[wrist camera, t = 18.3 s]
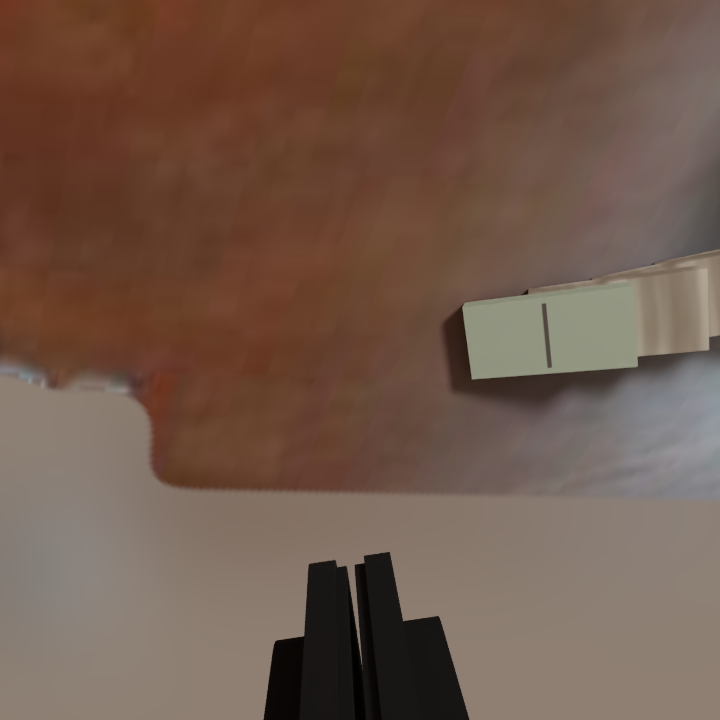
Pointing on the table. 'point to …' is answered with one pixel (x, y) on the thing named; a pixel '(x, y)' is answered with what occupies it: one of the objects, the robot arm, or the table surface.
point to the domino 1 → (552, 332)
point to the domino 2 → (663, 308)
